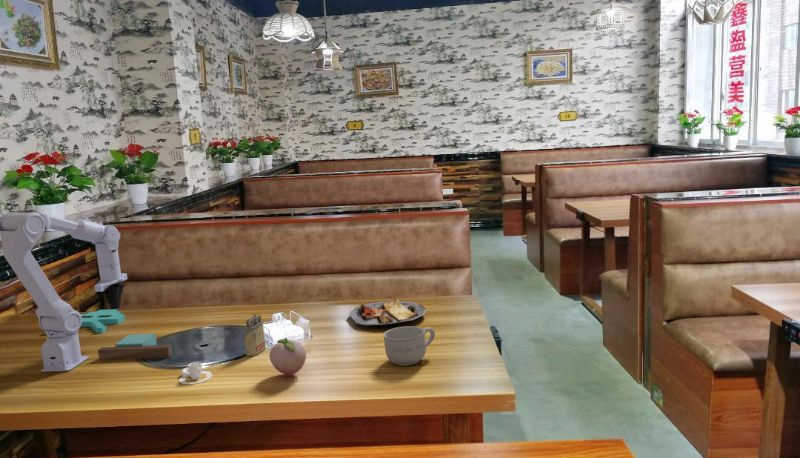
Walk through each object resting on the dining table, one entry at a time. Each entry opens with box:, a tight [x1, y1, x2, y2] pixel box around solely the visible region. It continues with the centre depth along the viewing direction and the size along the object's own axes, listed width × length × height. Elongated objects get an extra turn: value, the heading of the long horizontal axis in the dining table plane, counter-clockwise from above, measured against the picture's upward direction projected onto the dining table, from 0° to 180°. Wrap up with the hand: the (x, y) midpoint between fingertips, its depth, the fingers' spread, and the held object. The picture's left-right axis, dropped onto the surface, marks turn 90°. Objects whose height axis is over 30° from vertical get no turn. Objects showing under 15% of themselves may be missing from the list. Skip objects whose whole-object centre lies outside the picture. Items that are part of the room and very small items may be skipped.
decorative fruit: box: [268, 336, 307, 377], centre depth 146 cm, size 9×8×10 cm
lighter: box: [243, 314, 267, 357], centre depth 164 cm, size 7×4×10 cm, turn 163°
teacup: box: [382, 325, 436, 367], centre depth 151 cm, size 14×11×8 cm
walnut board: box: [97, 344, 172, 361], centre depth 166 cm, size 2×20×3 cm, turn 87°
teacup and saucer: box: [178, 361, 213, 385], centre depth 149 cm, size 9×8×4 cm
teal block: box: [114, 333, 158, 347], centre depth 171 cm, size 8×8×4 cm
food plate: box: [348, 297, 427, 326], centre depth 188 cm, size 25×23×4 cm
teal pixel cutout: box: [43, 309, 126, 335], centre depth 200 cm, size 20×2×20 cm
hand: (115, 308), depth 179 cm, fingers closed
